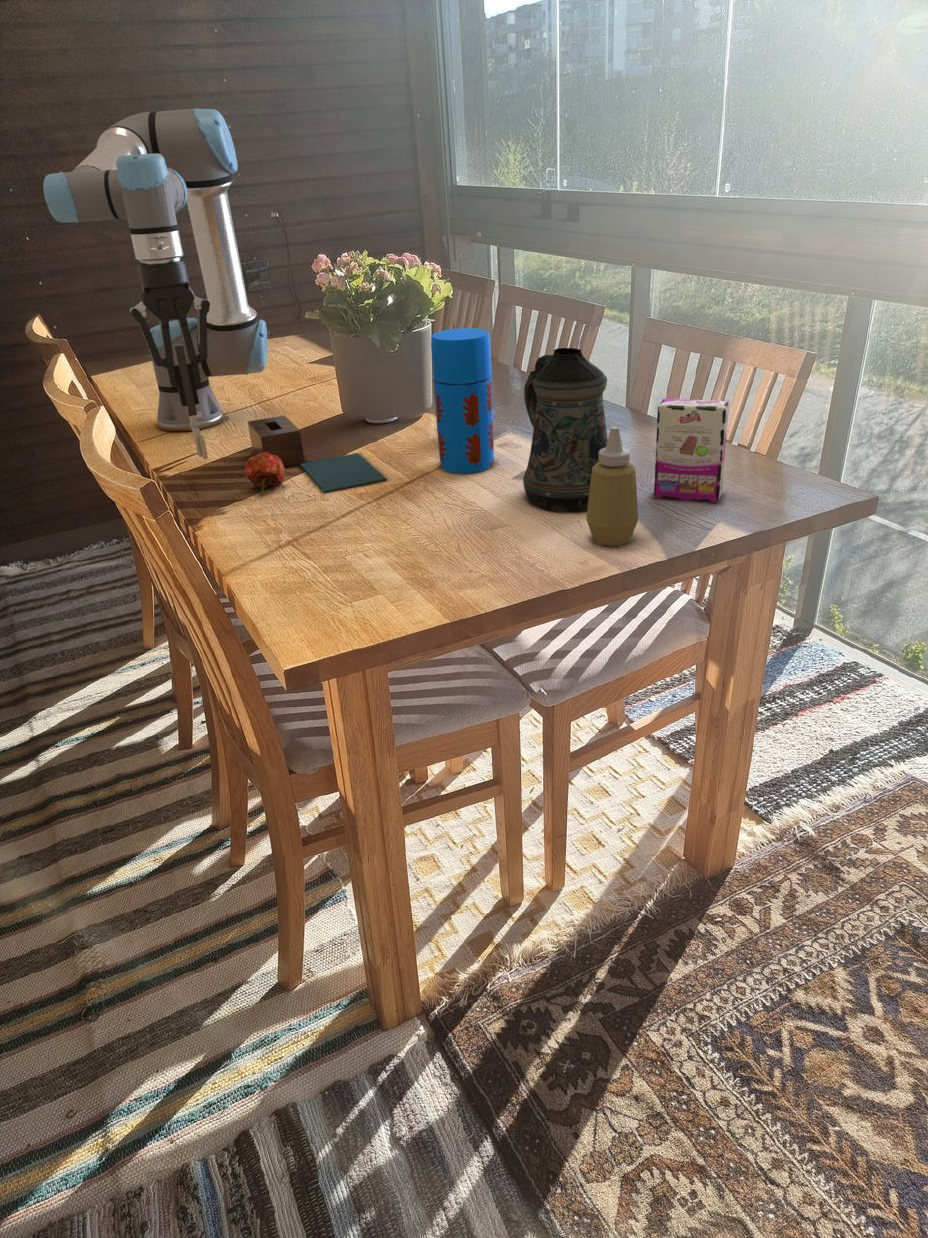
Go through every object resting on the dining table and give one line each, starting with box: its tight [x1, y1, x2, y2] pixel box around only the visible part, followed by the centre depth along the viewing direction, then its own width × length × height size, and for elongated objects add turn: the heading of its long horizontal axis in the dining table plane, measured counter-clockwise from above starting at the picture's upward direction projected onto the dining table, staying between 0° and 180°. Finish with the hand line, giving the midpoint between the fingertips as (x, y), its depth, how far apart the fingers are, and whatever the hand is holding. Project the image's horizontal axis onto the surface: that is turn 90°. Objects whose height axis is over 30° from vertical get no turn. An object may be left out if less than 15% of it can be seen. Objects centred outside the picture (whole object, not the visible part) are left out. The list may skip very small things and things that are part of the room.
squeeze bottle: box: [586, 426, 639, 547], centre depth 135 cm, size 8×8×18 cm
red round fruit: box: [244, 450, 286, 497], centre depth 166 cm, size 7×7×10 cm
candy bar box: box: [653, 398, 730, 503], centre depth 149 cm, size 11×5×16 cm, turn 69°
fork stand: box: [247, 414, 306, 469], centre depth 182 cm, size 13×8×7 cm, turn 24°
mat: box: [299, 452, 388, 494], centre depth 174 cm, size 18×12×1 cm
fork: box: [173, 343, 209, 460], centre depth 155 cm, size 6×2×20 cm, turn 24°
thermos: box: [430, 327, 495, 475], centre depth 168 cm, size 11×11×25 cm
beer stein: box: [522, 347, 609, 513], centre depth 151 cm, size 16×19×25 cm
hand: (189, 403), depth 155 cm, fingers closed on fork, 1 cm apart
